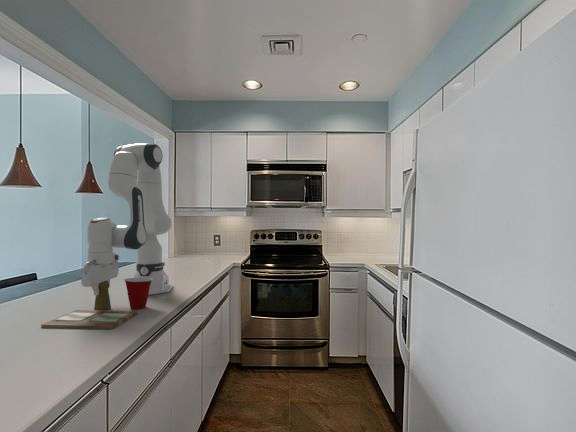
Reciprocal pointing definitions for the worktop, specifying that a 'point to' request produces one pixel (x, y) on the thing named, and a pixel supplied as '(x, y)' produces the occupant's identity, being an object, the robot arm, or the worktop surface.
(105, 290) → the cork
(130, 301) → the plastic cup
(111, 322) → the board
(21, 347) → the worktop surface
